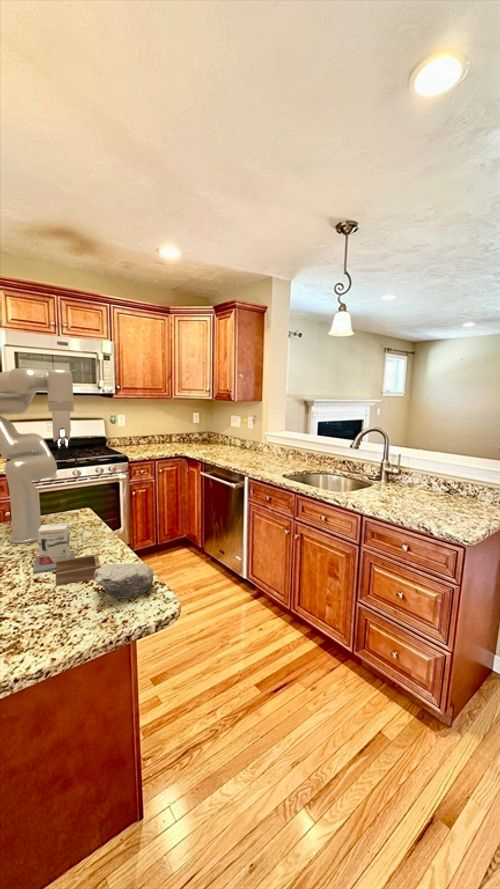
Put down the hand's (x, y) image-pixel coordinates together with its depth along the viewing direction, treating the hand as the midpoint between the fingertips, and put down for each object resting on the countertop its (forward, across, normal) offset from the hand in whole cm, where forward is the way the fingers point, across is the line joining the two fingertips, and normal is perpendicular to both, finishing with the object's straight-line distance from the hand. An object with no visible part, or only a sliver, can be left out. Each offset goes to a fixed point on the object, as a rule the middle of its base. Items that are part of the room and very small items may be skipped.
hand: (63, 457), depth 124 cm
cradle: (+34, +18, +2) cm, 39 cm away
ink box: (+34, +6, -4) cm, 34 cm away
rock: (+35, +36, +14) cm, 51 cm away
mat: (+34, +6, -4) cm, 35 cm away
